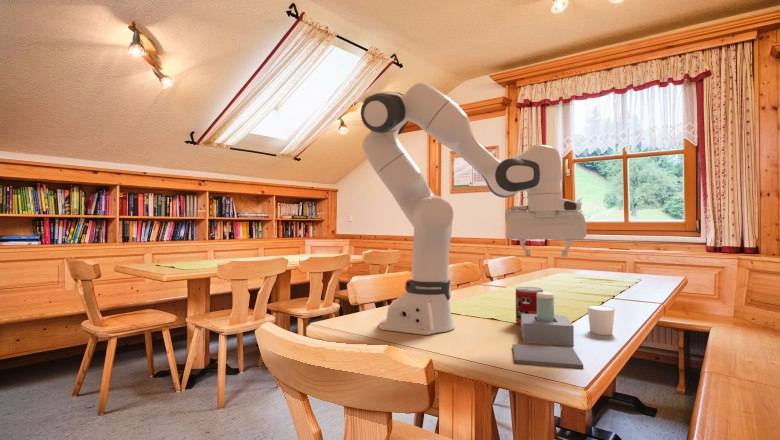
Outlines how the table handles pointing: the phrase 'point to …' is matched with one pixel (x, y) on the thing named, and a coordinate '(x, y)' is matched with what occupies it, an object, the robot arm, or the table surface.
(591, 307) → the white cup
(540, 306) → the cylinder
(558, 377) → the table surface
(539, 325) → the block
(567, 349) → the mat
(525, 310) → the canned food
